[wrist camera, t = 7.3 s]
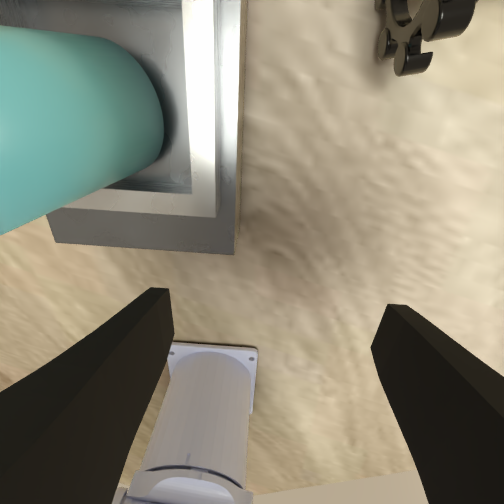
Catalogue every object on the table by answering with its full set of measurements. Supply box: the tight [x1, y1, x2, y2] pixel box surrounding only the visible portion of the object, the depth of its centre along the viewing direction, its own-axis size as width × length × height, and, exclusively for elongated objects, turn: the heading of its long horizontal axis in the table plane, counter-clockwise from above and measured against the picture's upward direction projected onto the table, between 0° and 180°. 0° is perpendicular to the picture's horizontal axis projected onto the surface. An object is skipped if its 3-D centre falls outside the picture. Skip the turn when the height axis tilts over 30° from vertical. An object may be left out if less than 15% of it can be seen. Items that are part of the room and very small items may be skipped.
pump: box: [0, 25, 164, 235], centre depth 8 cm, size 6×5×6 cm
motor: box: [0, 0, 248, 255], centre depth 12 cm, size 16×10×5 cm, turn 177°
